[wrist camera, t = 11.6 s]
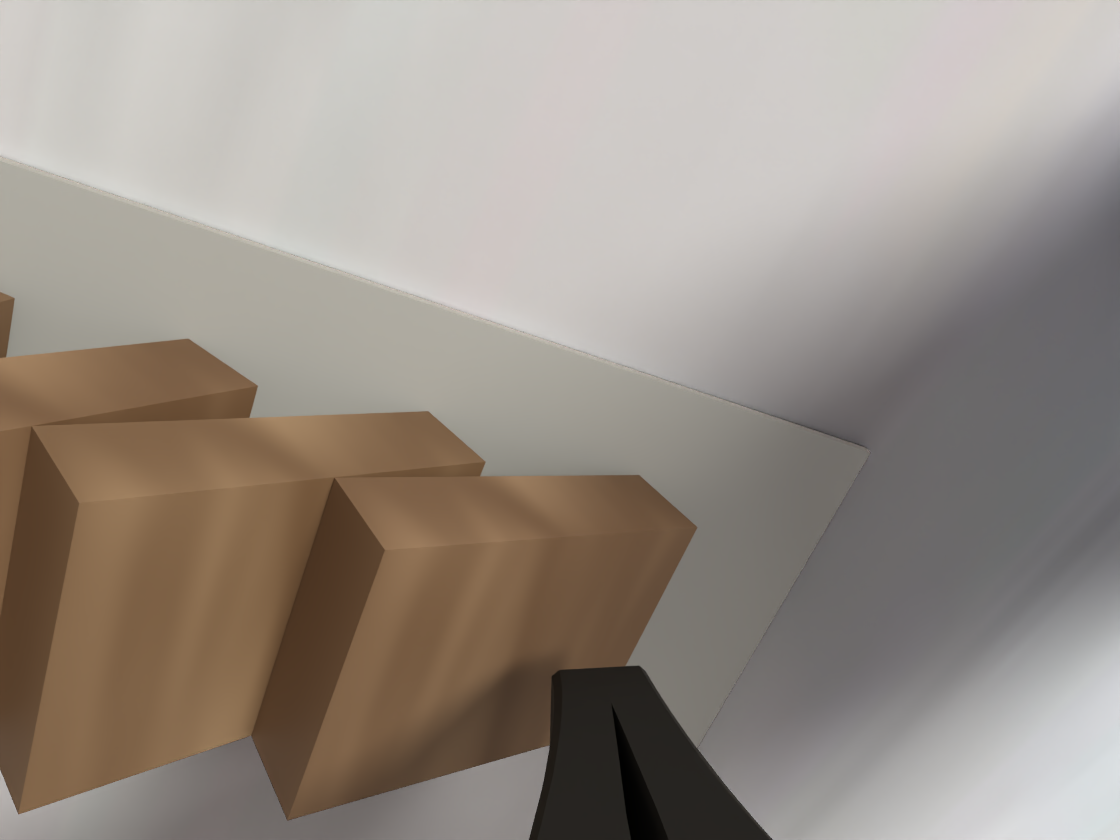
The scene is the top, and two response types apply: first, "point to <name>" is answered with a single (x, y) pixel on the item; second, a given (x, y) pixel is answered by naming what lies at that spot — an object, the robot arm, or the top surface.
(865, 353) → the top surface
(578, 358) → the runner mat
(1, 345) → the tile
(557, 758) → the robot arm
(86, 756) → the tile
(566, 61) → the top surface
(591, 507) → the tile
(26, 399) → the tile
